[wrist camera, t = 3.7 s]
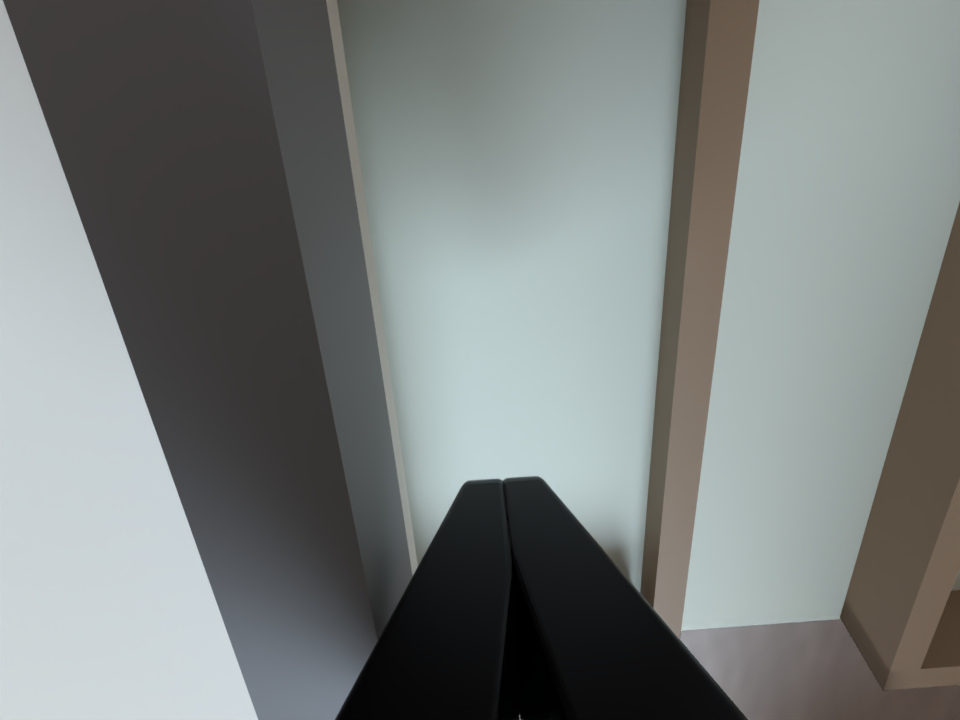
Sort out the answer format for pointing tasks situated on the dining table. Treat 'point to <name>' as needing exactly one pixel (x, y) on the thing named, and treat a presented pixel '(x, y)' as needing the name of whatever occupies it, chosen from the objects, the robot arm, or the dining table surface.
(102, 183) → the lid
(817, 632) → the dining table surface
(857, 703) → the dining table surface
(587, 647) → the robot arm
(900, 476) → the board
